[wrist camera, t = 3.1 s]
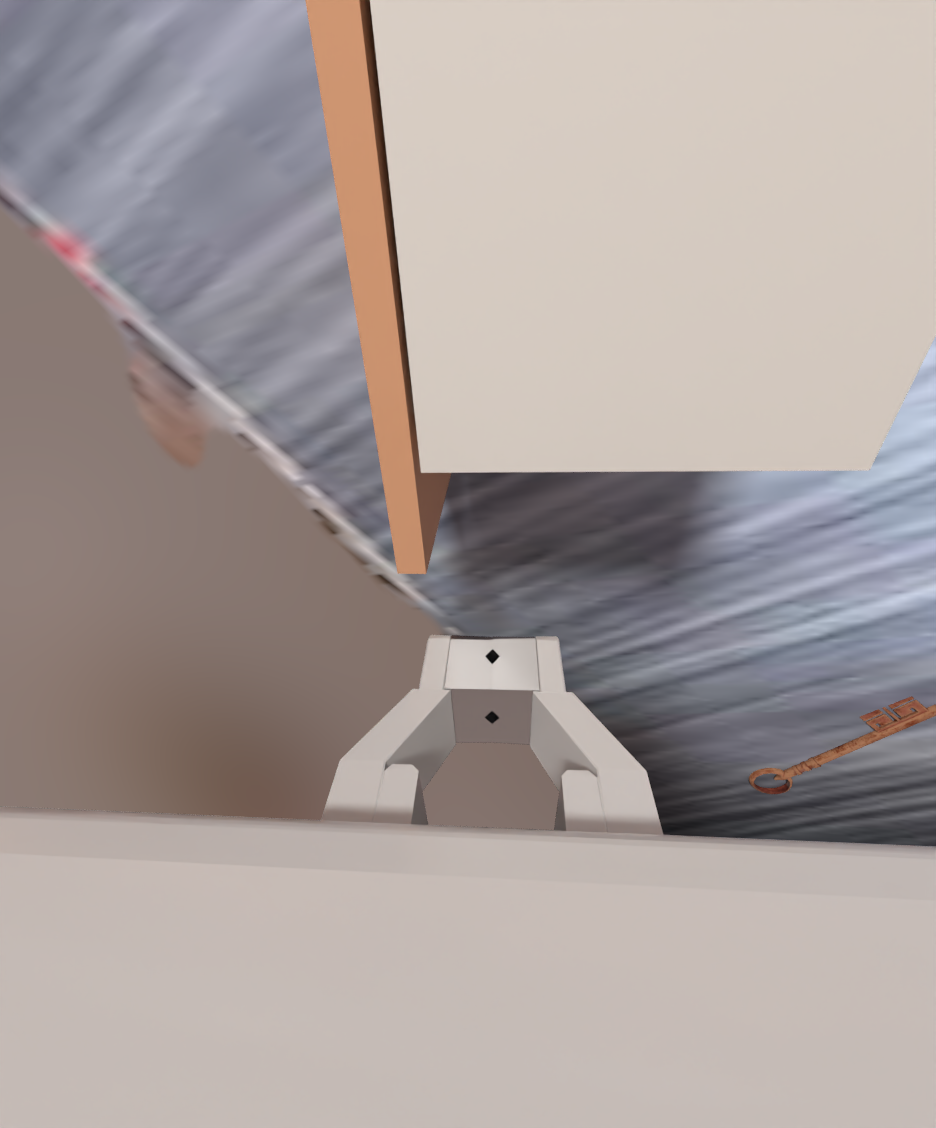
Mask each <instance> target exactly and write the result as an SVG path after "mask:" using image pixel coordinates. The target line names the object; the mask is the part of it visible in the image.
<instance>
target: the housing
mask: <svg viewBox="0 0 936 1128" xmlns="http://www.w3.org/2000/svg"><path fill="white" fill-rule="evenodd" d="M370 6H371V15H372V25H373V34H374V43H375V52H376V61H377V71H378V80H379V89H380V98H381V108H382V117H383V126H384V135H385V145H386V154H387V163H388V172H389V182H390V191H391V200H392V209H393V219H394V228H395V237H396V246H397V256H398V265H399V274H400V283H401V293H402V302H403V311H404V320H405V330H406V339H407V348H408V357H409V367H410V376H411V385H412V394H413V404H414V413H415V422H416V431H417V441H418V450H419V459H420V468H421V473H474V472H653V471H831V470H870V468H871V466H872V464H873V462H874V460H875V458H876V456H877V454H878V452H879V450H880V448H881V446H882V444H883V442H884V440H885V438H886V436H887V434H888V432H889V430H890V428H891V426H892V424H893V422H894V420H895V417H896V415H897V413H898V411H899V409H900V407H901V405H902V403H903V401H904V399H905V397H906V395H907V393H908V391H909V389H910V387H911V385H912V383H913V381H914V379H915V377H916V375H917V373H918V371H919V369H920V367H921V365H922V363H923V360H924V358H925V356H926V354H927V352H928V350H929V348H930V346H931V344H932V342H933V340H934V338H935V336H936V0H370Z"/></svg>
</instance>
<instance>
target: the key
mask: <svg viewBox="0 0 936 1128" xmlns="http://www.w3.org/2000/svg"><path fill="white" fill-rule="evenodd" d="M912 699H914V698H913V697H912V696H911V697H909V698H906V699H904V700H901V701H899V702H896V703H894V704H891V705H889V707H890V708H891V709H893V708H895V707H897V706H899V705H901V704H904V703H906V702H908V701H910V700H912ZM911 708H914V709H915V710H917V711H915V712H913V711H912V710H910V709H911ZM883 709H884V710H885V711H886V712H887V713H889V714H890V715H891V716H892V717H893V718H895V719H896V720H894V721H892V719H890V718H889V717H888V716H886V715H885V714H882V713H883V712H881V711H880V710H879V709H878V710H876V711H873V712H871V713H868V714H866V715H863V716H861V717H860V718H861V719H862V720H864V721H866V720H868V719H871V718H873V717H875V716H877V715H879V714H882V715H880V716H878V717H876V718H874V719H871V720H869V721H867V722H866V723H867V724H869V725H870V726H871V727H872V728H873V729H875V731H873V732H871V733H868V734H866V735H864V736H861V737H859V738H857V739H855V740H852V741H850V742H848V743H845V744H843V745H841V746H838V747H836V748H834V749H831V750H829V751H827V752H825V753H822V754H820V755H818V756H815V757H813V758H812V757H811V758H810V759H808V760H807V761H805V762H801V763H800V764H798V765H796V766H795V765H794V766H792V767H791V768H789V769H786V770H784V771H783V770H780V769H776V768H765V769H760V770H757V771H755V772H753V773H752V774H751V775H750V776H749V782H750V784H751V785H752V786H753V787H754V788H755V789H757V790H758V791H761V792H764V793H767V794H780V793H784V792H786V791H788V790H789V789H790V788H791V787H792V778H791V777H793V776H795V775H797V774H798V775H800V774H802V772H804V771H809V770H812V768H817V767H821V765H822V764H824V763H827V762H829V761H831V760H834V759H836V758H838V757H841V756H843V755H845V754H848V753H850V752H852V751H855V750H857V749H859V748H862V747H864V746H866V745H869V744H871V743H873V742H875V741H878V740H880V739H882V738H885V737H887V736H889V735H892V734H894V733H896V732H899V731H901V730H903V729H906V728H908V727H910V726H913V725H915V724H917V723H920V722H922V721H924V720H927V719H929V718H931V717H934V716H936V705H933V706H931V707H928V708H925V707H924V706H923V705H922V704H920V703H919V702H918V701H917V700H914V701H912V702H909V703H907V704H905V705H903V706H900V707H898V708H896V709H894V711H895V712H896V713H897V714H899V715H900V716H901V718H898V717H897V716H895V715H894V714H893V713H892V712H890V711H889V710H888V709H886V708H885V707H883ZM912 712H913V713H912ZM903 716H904V717H903ZM877 723H879V724H880V725H881V726H880V727H878V726H877V725H876V724H877ZM767 773H774V774H777V775H776V776H775V777H774V779H775V780H786V779H788V781H787V783H786V784H784V785H783V786H781V787H777V788H762V787H759V786H757V785H755V784H754V780H755V778H756V777H758V776H759V775H762V774H767Z"/></svg>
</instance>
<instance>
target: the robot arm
mask: <svg viewBox="0 0 936 1128" xmlns="http://www.w3.org/2000/svg"><path fill="white" fill-rule="evenodd" d="M456 742H462V743H463V742H464V743H472V742H473V743H476V742H477V743H479V742H480V743H487V742H488V743H491V742H493V743H509V744H527V745H530V747H531V749H532V751H533V752H534V753H535V755H536V757H537V758H538V760H539V761H540V763H541V765H542V766H543V768H544V769H545V771H546V772H547V774H548V775H549V777H550V779H551V780H552V782H553V783H554V785H555V786H556V788H557V789H558V791H559V799H558V806H557V813H556V820H555V828H554V830H536V829H512V828H488V827H466V826H442V825H428V821H427V815H426V810H425V804H424V799H423V793H422V792H423V790H424V789H425V788H426V786H427V785H428V783H429V782H430V781H431V779H432V778H433V776H434V775H435V773H436V772H437V771H438V769H439V768H440V766H441V765H442V764H443V762H444V761H445V759H446V758H447V757H448V755H449V754H450V752H451V751H452V749H453V748H454V747H455V745H456ZM0 1128H936V847H931V846H908V845H885V844H862V843H839V842H815V841H792V840H769V839H746V838H723V837H699V836H676V835H663V832H662V828H661V824H660V821H659V817H658V813H657V809H656V805H655V802H654V798H653V794H652V790H651V786H650V783H649V779H648V775H647V771H646V770H645V769H644V768H643V767H642V766H641V765H640V764H639V763H638V762H637V761H636V759H635V758H634V757H633V756H632V755H631V754H630V753H629V752H628V751H627V750H626V749H625V748H624V747H623V746H622V745H621V743H620V742H619V741H618V740H617V739H616V738H615V737H614V736H613V735H612V734H611V733H610V732H609V731H608V730H607V729H606V727H605V726H604V725H603V724H602V723H601V722H600V721H599V720H598V719H597V718H596V717H595V716H594V715H593V714H592V713H591V711H590V710H589V709H588V708H587V707H586V706H585V705H584V704H583V703H582V702H581V701H580V700H579V699H578V698H577V696H576V695H575V694H574V693H573V692H566V688H565V681H564V674H563V666H562V659H561V652H560V644H559V639H558V638H557V637H505V636H493V637H487V636H460V635H452V636H447V635H430V637H429V639H428V643H427V648H426V653H425V658H424V664H423V669H422V675H421V680H420V686H419V689H412V690H411V691H410V692H409V693H408V694H407V695H406V696H405V697H404V698H403V699H402V700H401V701H400V702H399V703H398V704H397V705H396V706H395V707H394V708H393V709H392V710H391V711H390V712H389V713H388V714H387V715H385V716H384V718H383V719H381V720H380V721H379V722H378V723H377V724H376V725H375V726H374V727H373V728H372V729H371V730H370V731H369V732H368V733H367V734H366V735H365V736H364V737H363V738H362V739H361V740H360V741H359V742H358V743H357V744H356V745H355V746H354V747H353V748H352V749H351V750H350V751H349V752H348V753H347V754H346V755H345V756H344V757H343V758H342V759H341V760H340V762H339V765H338V768H337V771H336V774H335V778H334V781H333V784H332V787H331V791H330V794H329V797H328V800H327V804H326V806H325V810H324V813H323V816H322V819H321V820H302V819H280V818H256V817H234V816H211V815H188V814H164V813H141V812H119V811H97V810H74V809H51V808H29V807H6V806H5V807H4V806H0Z"/></svg>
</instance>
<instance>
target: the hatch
mask: <svg viewBox="0 0 936 1128" xmlns="http://www.w3.org/2000/svg"><path fill="white" fill-rule="evenodd" d="M306 6H307V12H308V19H309V25H310V31H311V37H312V44H313V50H314V56H315V62H316V68H317V75H318V81H319V87H320V93H321V99H322V106H323V112H324V118H325V124H326V131H327V137H328V143H329V149H330V155H331V162H332V168H333V174H334V180H335V186H336V193H337V199H338V205H339V211H340V218H341V224H342V230H343V236H344V242H345V249H346V255H347V261H348V267H349V273H350V280H351V286H352V292H353V298H354V305H355V311H356V317H357V323H358V329H359V336H360V342H361V348H362V354H363V360H364V367H365V373H366V379H367V385H368V392H369V398H370V404H371V410H372V416H373V423H374V429H375V435H376V441H377V447H378V454H379V460H380V466H381V472H382V479H383V485H384V491H385V497H386V503H387V510H388V516H389V522H390V528H391V534H392V541H393V547H394V553H395V559H396V566H397V572H398V573H404V574H426V573H427V569H428V565H429V561H430V557H431V553H432V549H433V545H434V541H435V537H436V532H437V528H438V524H439V520H440V516H441V512H442V508H443V504H444V500H445V496H446V492H447V488H448V484H449V480H450V476H451V473H421V468H420V459H419V450H418V441H417V431H416V422H415V413H414V404H413V394H412V385H411V376H410V367H409V357H408V348H407V339H406V330H405V320H404V311H403V302H402V293H401V283H400V274H399V265H398V256H397V246H396V237H395V228H394V219H393V209H392V200H391V191H390V182H389V172H388V163H387V154H386V145H385V135H384V126H383V117H382V108H381V98H380V89H379V80H378V71H377V61H376V52H375V43H374V34H373V25H372V15H371V6H370V0H306Z"/></svg>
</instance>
